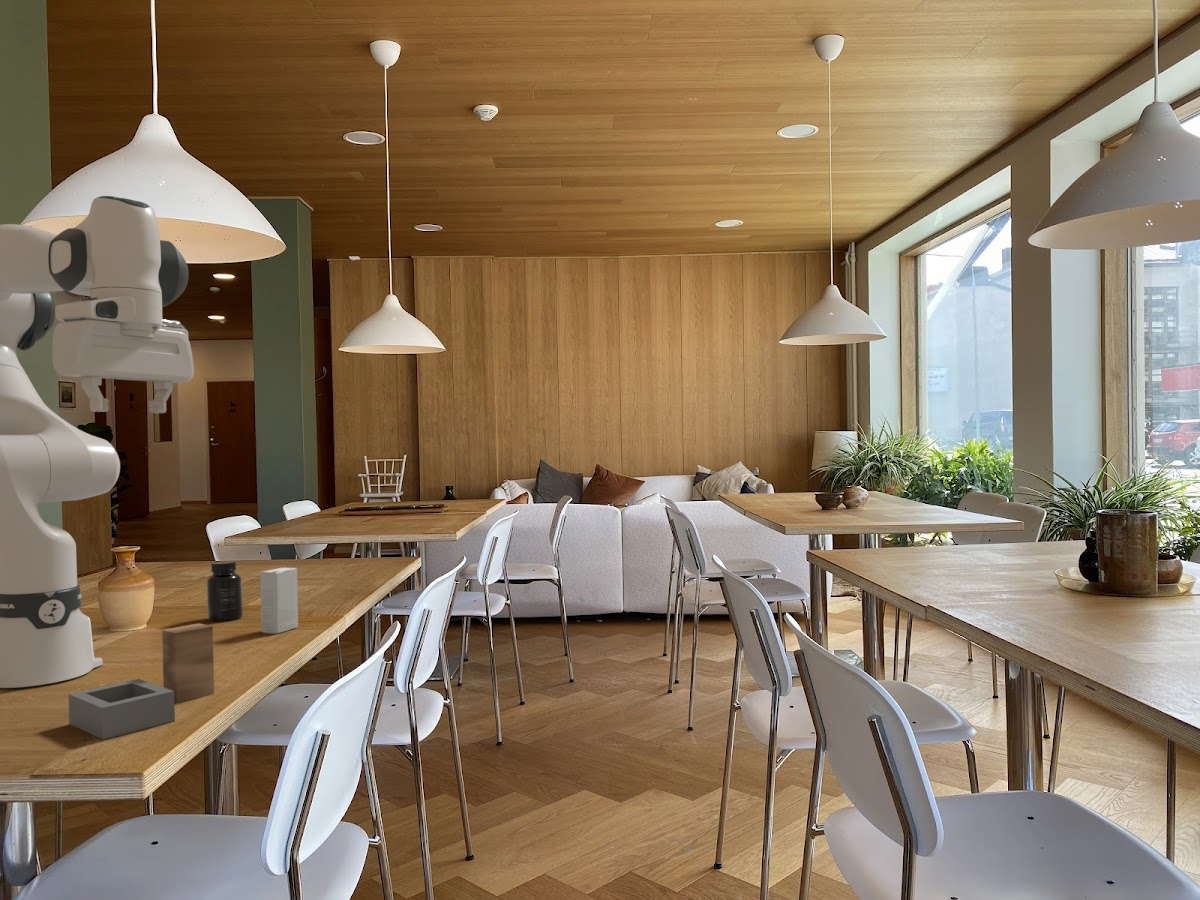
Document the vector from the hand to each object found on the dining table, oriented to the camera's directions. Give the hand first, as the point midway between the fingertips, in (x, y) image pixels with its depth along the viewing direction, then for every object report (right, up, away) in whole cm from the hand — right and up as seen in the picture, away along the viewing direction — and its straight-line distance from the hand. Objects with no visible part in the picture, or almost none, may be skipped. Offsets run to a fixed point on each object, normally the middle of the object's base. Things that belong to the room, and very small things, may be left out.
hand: (129, 412), depth 123 cm
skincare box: (+3, -41, +51) cm, 65 cm away
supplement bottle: (-14, -41, +64) cm, 77 cm away
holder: (+2, -42, -6) cm, 42 cm away
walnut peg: (+5, -41, +6) cm, 42 cm away
